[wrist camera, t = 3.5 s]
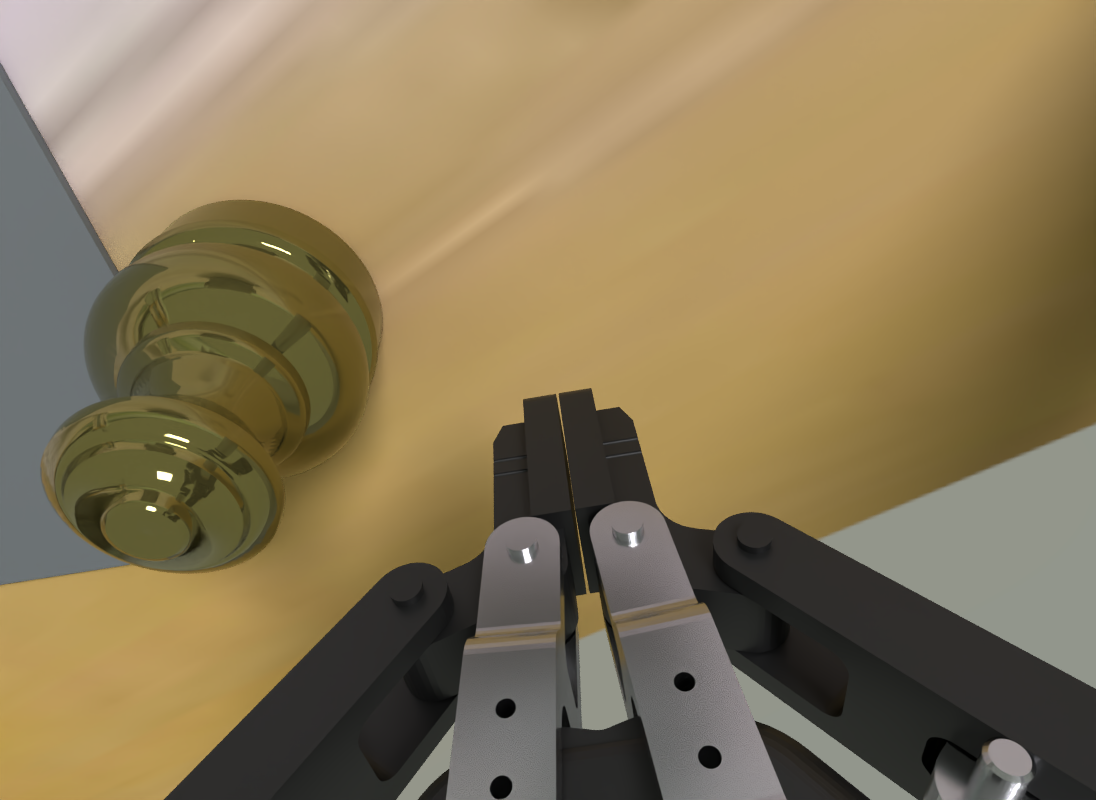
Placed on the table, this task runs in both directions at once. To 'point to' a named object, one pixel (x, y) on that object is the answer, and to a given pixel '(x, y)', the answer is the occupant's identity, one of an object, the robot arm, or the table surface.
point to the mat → (40, 342)
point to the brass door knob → (214, 386)
